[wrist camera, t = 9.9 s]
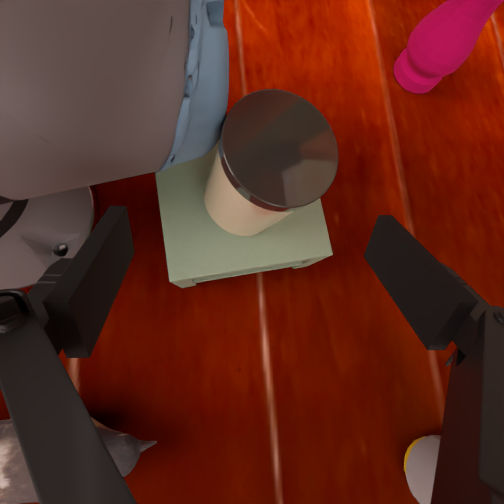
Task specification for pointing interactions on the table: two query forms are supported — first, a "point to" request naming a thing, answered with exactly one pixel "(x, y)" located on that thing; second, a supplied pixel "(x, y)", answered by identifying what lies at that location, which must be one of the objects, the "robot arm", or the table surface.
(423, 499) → the soap bottle
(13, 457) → the decorative bird
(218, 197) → the jar
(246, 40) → the table surface
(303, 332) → the table surface
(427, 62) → the pepper mill
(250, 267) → the small table
